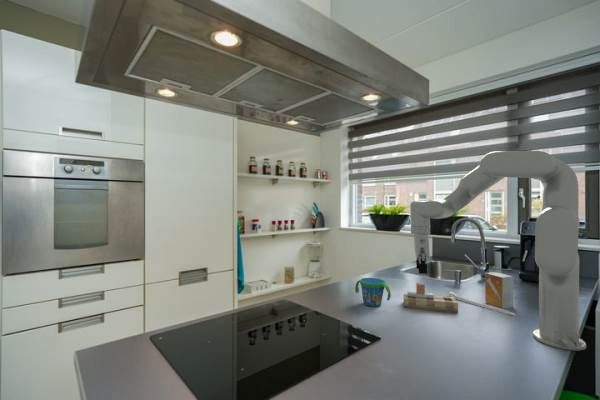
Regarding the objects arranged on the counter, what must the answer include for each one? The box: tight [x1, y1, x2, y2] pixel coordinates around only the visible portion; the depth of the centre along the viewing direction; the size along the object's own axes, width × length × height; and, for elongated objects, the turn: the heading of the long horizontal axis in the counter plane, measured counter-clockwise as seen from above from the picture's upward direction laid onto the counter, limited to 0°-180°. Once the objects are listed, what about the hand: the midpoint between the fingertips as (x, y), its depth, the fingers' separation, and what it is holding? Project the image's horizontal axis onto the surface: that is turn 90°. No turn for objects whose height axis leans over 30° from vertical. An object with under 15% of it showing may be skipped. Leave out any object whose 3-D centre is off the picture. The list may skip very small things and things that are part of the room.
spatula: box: [446, 291, 517, 317], centre depth 127 cm, size 28×4×3 cm, turn 32°
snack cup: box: [354, 277, 392, 308], centre depth 127 cm, size 16×10×10 cm
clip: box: [407, 282, 435, 299], centre depth 124 cm, size 3×10×9 cm, turn 74°
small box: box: [484, 271, 514, 310], centre depth 127 cm, size 8×6×13 cm
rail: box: [403, 292, 459, 314], centre depth 123 cm, size 7×20×4 cm, turn 73°
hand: (421, 271), depth 124 cm, fingers open, 9 cm apart
